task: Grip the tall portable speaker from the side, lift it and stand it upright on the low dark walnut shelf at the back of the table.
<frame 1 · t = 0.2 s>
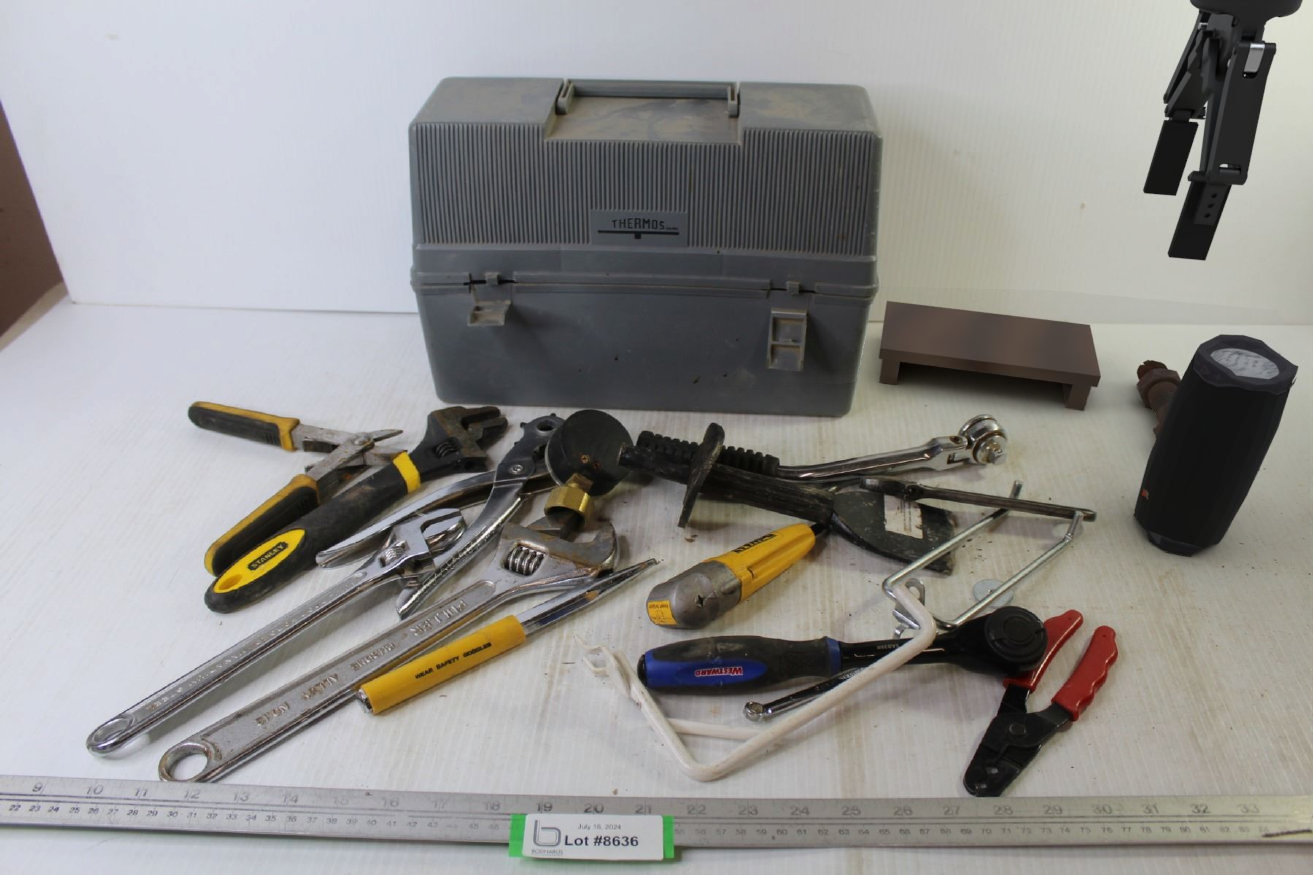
hand: (1171, 223, 84), 28 cm above the worktop, tool pointing down, fingers open, 13 cm apart
portable speaker: (1173, 531, 94), on the worktop
shelf: (978, 372, 117), on the worktop
bolt: (1161, 421, 109), on the worktop
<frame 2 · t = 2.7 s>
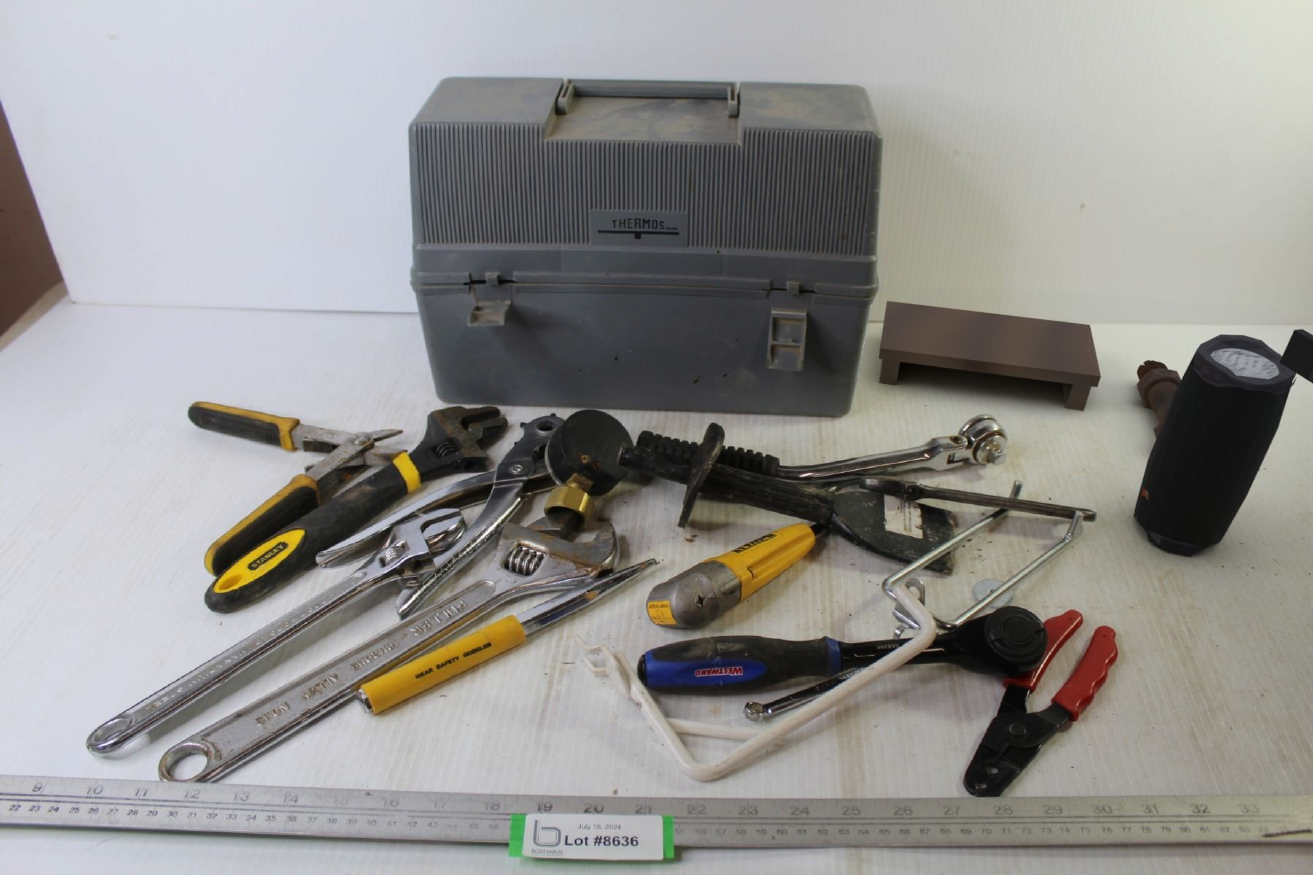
nothing on the worktop moved.
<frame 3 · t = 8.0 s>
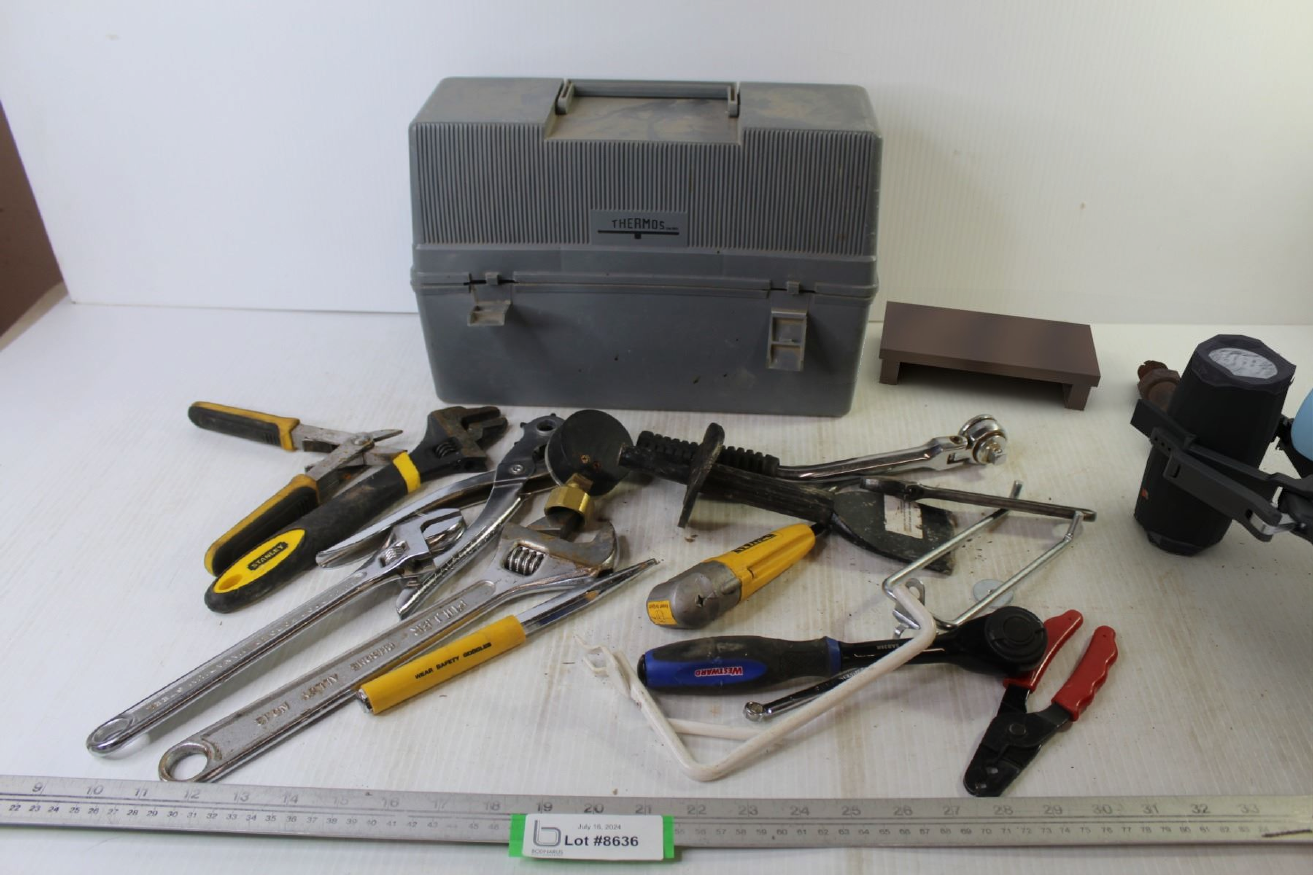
hand: (1179, 401, 90), 12 cm above the worktop, tool horizontal, fingers closed on portable speaker, 9 cm apart
portable speaker: (1174, 531, 94), on the worktop, touching gripper
everything else where it was.
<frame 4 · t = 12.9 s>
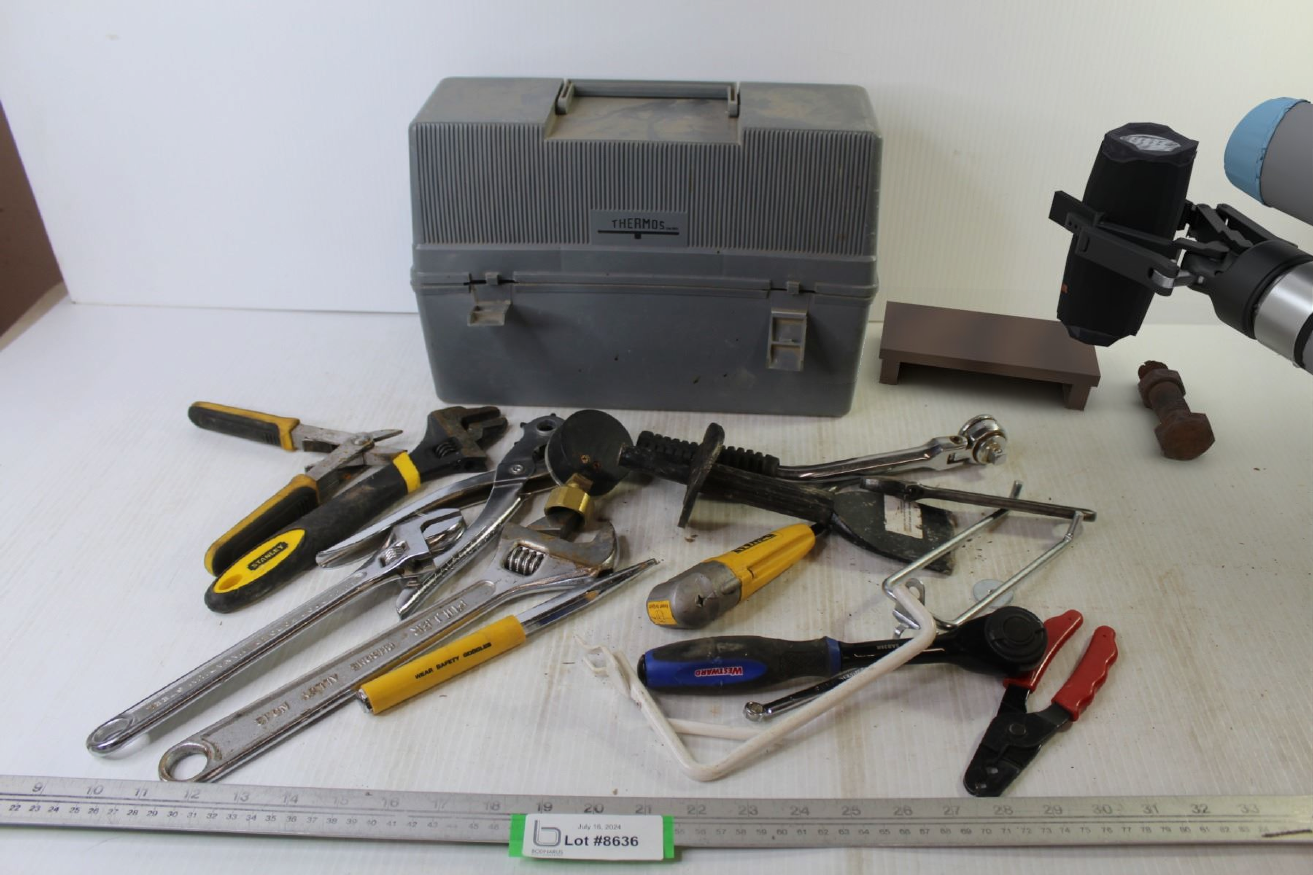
hand: (1096, 198, 94), 26 cm above the worktop, tool horizontal, fingers closed on portable speaker, 9 cm apart
portable speaker: (1094, 330, 97), point 14 cm above the worktop, touching gripper
everything else where it was.
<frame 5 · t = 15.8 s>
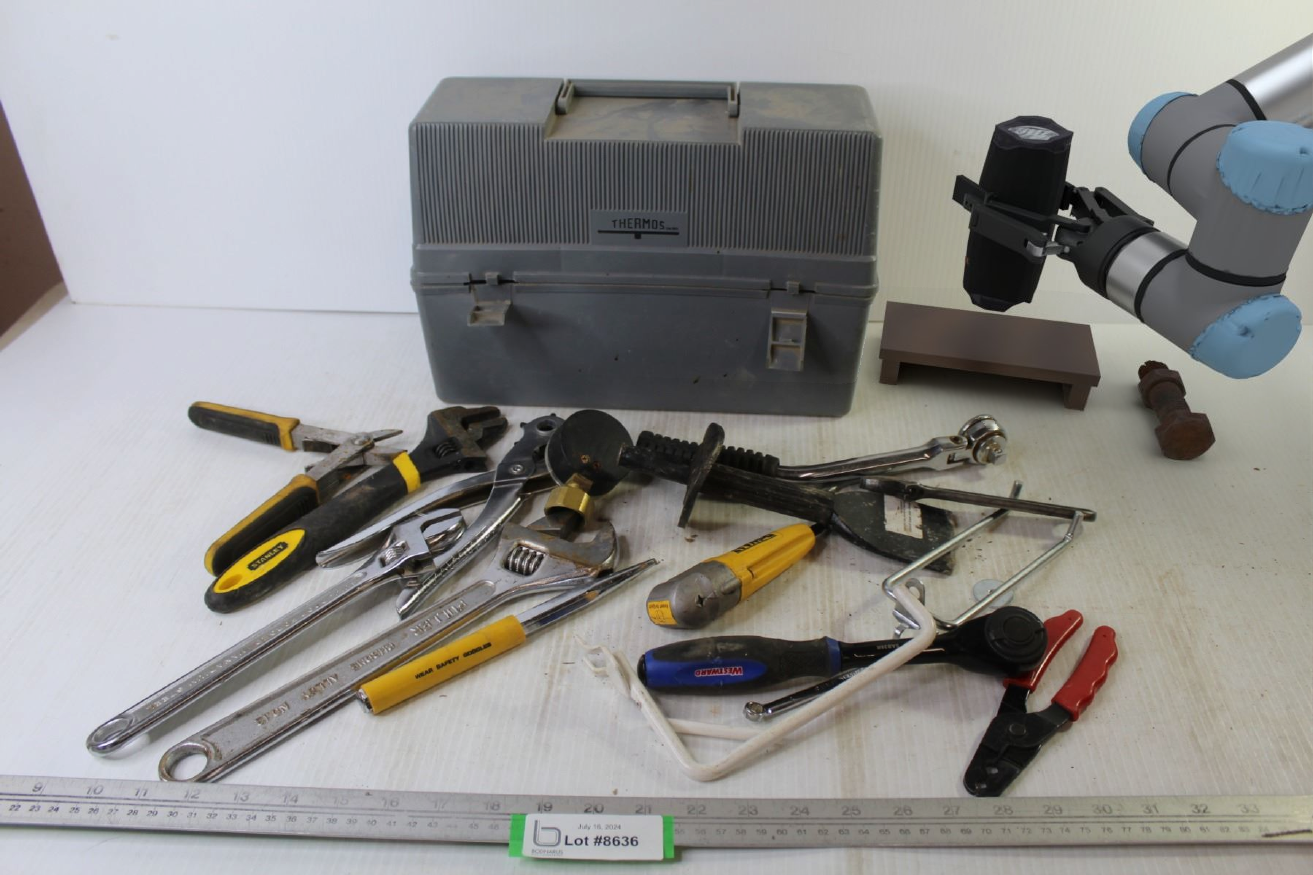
hand: (994, 182, 107), 22 cm above the worktop, tool horizontal, fingers closed on portable speaker, 9 cm apart
portable speaker: (995, 298, 111), point 10 cm above the worktop, touching gripper
everything else where it was.
when the fingers open (17 cm above the worktop, at t = 17.8 s): portable speaker stays where it is, resting on shelf.
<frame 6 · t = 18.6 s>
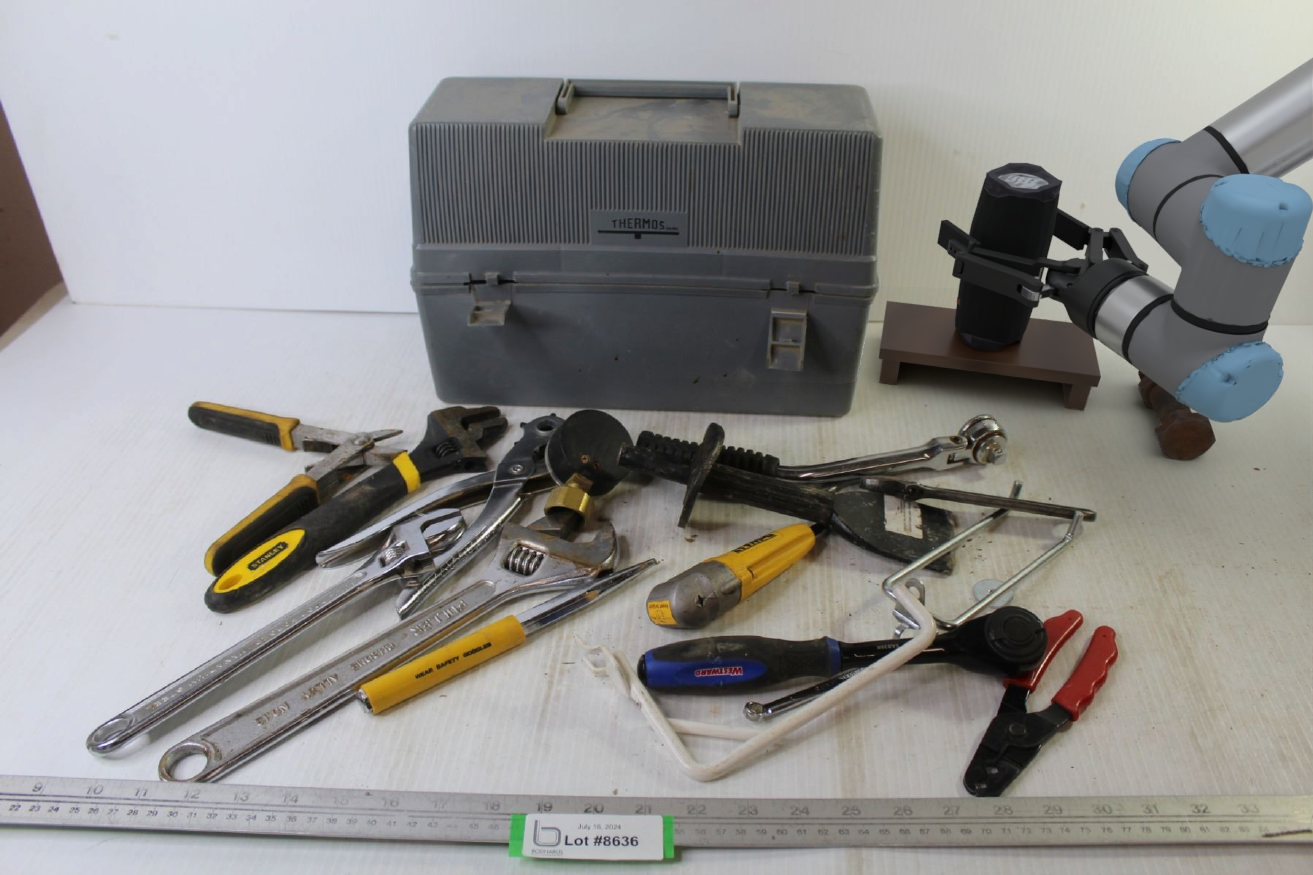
hand: (994, 223, 109), 18 cm above the worktop, tool horizontal, fingers open, 13 cm apart
portable speaker: (986, 337, 114), point 5 cm above the worktop, touching shelf
everything else where it was.
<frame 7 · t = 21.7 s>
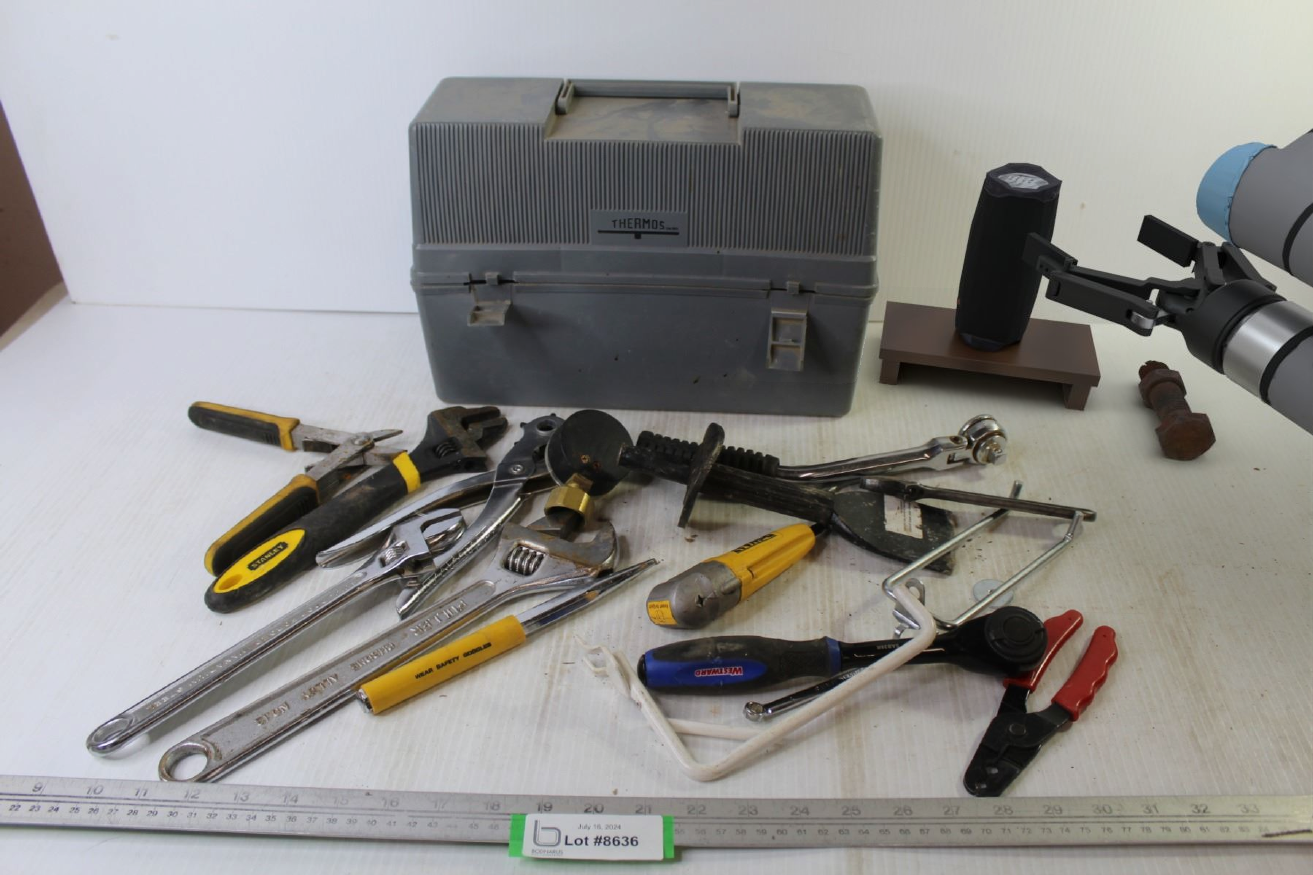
hand: (1086, 236, 96), 22 cm above the worktop, tool horizontal, fingers open, 13 cm apart
nothing on the worktop moved.
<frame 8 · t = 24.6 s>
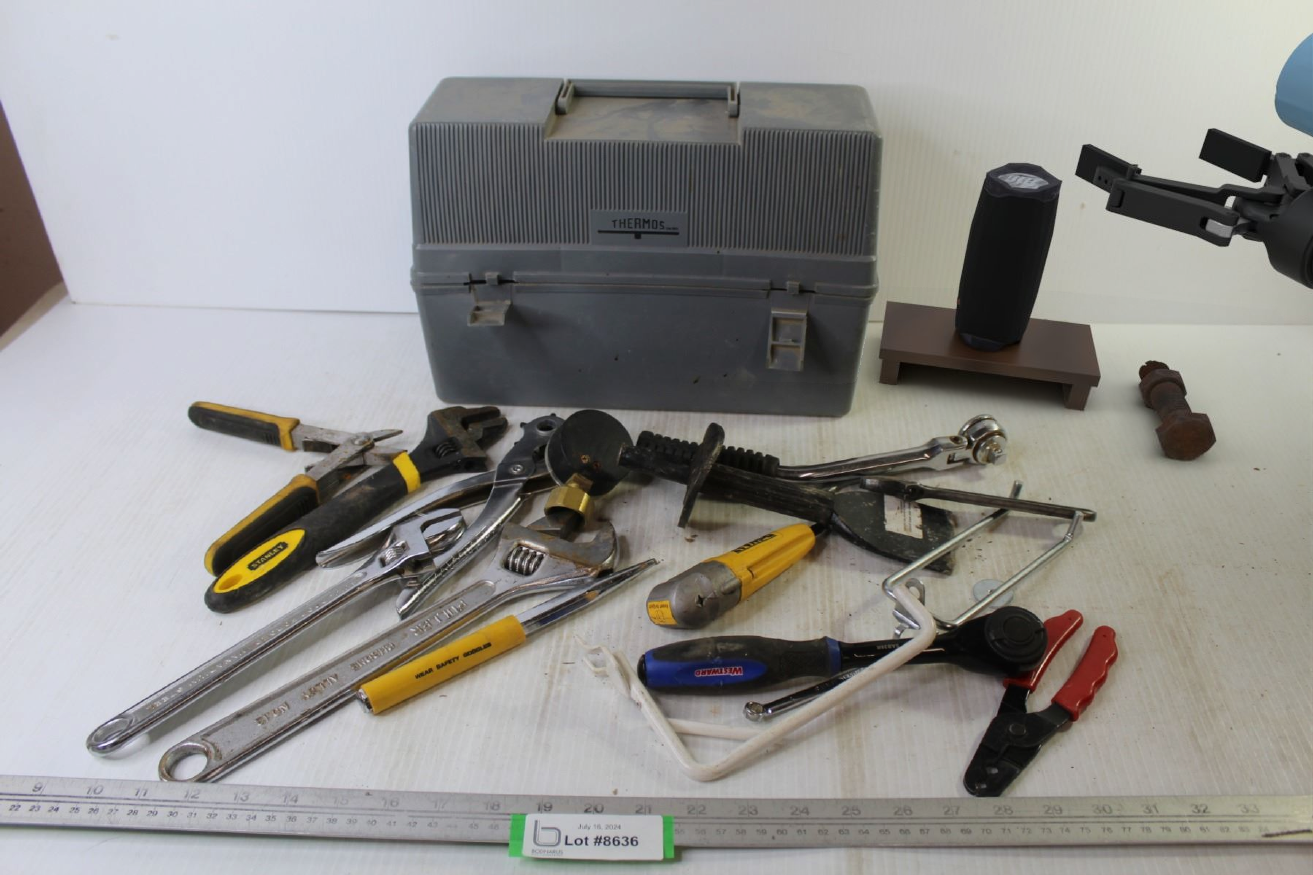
hand: (1145, 151, 87), 32 cm above the worktop, tool horizontal, fingers open, 13 cm apart
nothing on the worktop moved.
at the end: portable speaker inside the target area on the shelf (0.0 cm from its centre), point 4.8 cm above the shelf's base; portable speaker tilted 0°; the gripper is holding nothing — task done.
